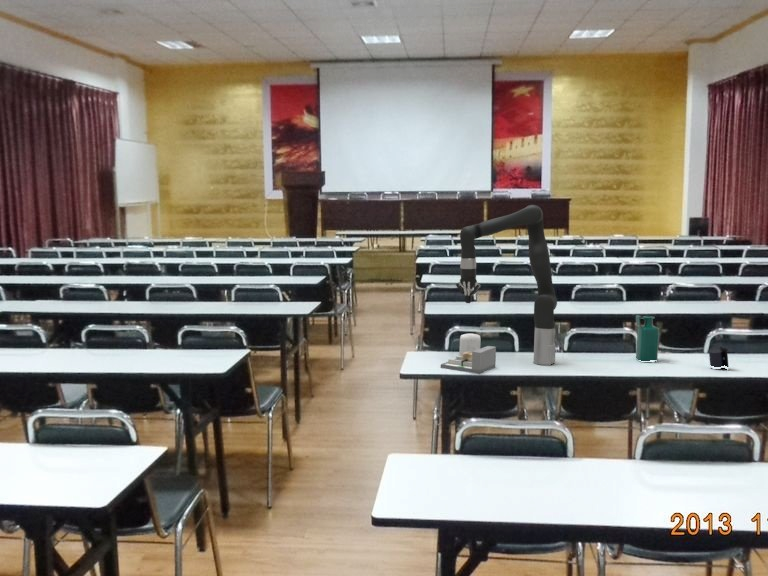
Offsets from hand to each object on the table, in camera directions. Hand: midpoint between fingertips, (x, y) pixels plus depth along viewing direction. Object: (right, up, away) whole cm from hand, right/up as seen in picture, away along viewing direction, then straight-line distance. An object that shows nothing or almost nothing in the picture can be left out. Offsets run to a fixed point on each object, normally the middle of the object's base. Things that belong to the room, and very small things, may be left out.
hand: (468, 302), depth 345 cm
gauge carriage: (-3, -28, -21) cm, 35 cm away
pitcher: (+86, -28, -1) cm, 90 cm away
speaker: (+113, -31, -17) cm, 119 cm away
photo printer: (+1, -27, 0) cm, 27 cm away
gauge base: (-2, -29, -18) cm, 35 cm away
